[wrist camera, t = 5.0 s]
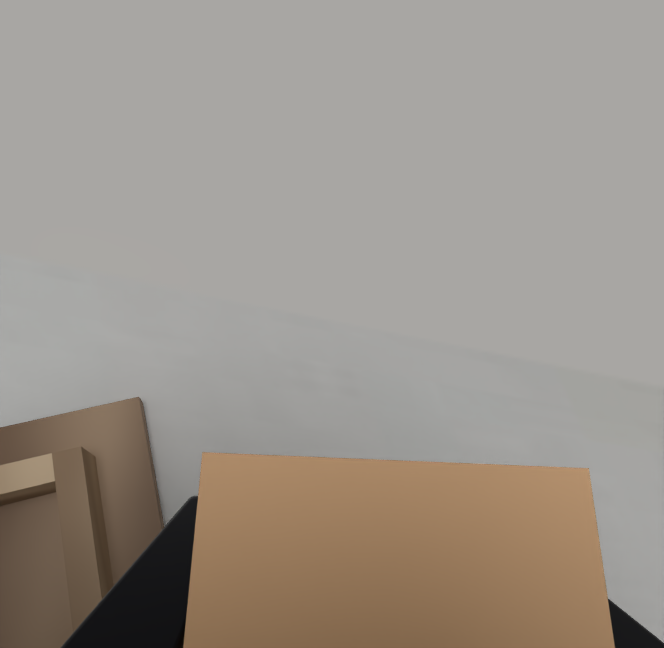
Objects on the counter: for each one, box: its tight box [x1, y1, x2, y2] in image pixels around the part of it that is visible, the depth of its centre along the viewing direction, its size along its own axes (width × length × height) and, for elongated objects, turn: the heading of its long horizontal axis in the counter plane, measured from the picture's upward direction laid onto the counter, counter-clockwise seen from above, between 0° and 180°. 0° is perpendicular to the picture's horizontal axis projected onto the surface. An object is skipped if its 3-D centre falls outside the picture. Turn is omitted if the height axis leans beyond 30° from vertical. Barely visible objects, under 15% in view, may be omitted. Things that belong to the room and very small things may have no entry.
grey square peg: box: [183, 452, 615, 648], centre depth 10 cm, size 3×3×11 cm
